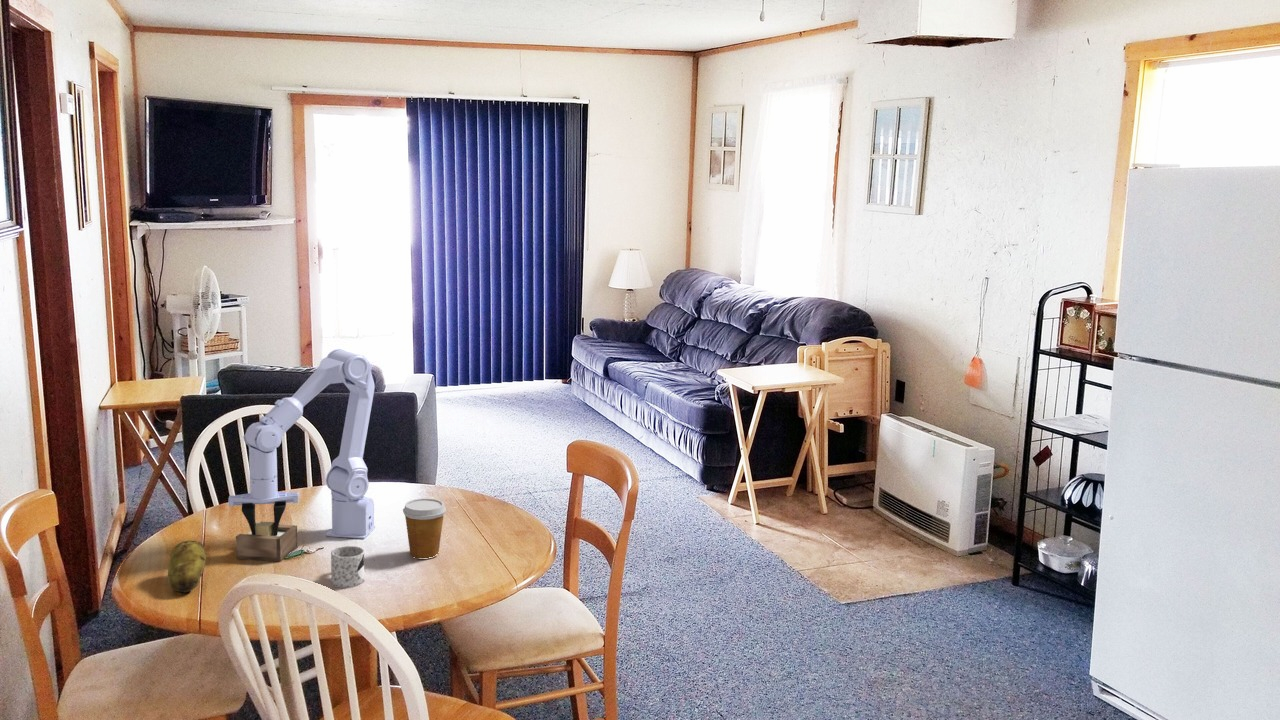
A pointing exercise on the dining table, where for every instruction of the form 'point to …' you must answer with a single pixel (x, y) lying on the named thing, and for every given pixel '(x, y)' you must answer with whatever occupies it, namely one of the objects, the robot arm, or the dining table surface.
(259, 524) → the cover plate
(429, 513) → the disposable coffee cup
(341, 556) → the mug
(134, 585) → the dining table surface
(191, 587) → the potato
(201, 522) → the dining table surface
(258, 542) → the walnut box
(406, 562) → the dining table surface
